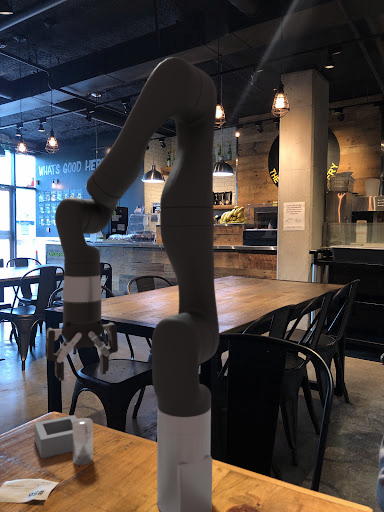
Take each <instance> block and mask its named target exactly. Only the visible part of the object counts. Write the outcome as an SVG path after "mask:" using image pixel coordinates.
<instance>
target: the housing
mask: <svg viewBox="0 0 384 512" xmlns="http://www.w3.org/2000/svg"><path fill="white" fill-rule="evenodd" d="M77 419H78V418H77V416H76V415H75V414H73V415H68V416H63V417H57V418H52V419H47V420H41V421H37V422H34V423H33V424H34V425H33V426H34V427H33V428H34V442H35V446H36V447H37V450H38V454H39V456H40V460H42V459H45V458H49V457H54V456H58V455H63V454H67V453H73V421H75V420H77Z"/></svg>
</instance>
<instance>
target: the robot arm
mask: <svg viewBox="0 0 384 512" xmlns="http://www.w3.org/2000/svg"><path fill="white" fill-rule="evenodd" d="M217 102H218V95H217V87H216V85H215V82H214V80H213V79H212V78H211V76H210V75H209V74H208V73H206V72H205V71H203V70H202V69H200V68H199V67H198V66H196V65H194V64H192V63H191V62H189V60H186V59H183V58H182V57H178V56H171V57H167V58H165V59H164V60H162V61H161V62H160V63H159V64H158V65H156V67H155V68H154V69H153V71H152V72H151V73H150V75H149V77H148V78H147V81H146V83H145V84H144V86H143V87H142V89H141V92H140V94H139V96H138V97H137V99H136V101H135V103H134V105H133V107H132V109H131V111H130V113H129V115H128V117H127V118H126V120H125V123H124V125H123V127H122V128H121V131H120V132H119V134H118V136H117V138H116V140H115V142H114V143H113V144H112V146H111V148H110V149H109V151H108V152H107V154H106V155H105V156H104V157H103V159H102V160H101V161H100V162H99V164H98V165H97V166H96V168H95V169H94V170H93V172H92V173H90V176H89V178H88V179H87V181H86V182H85V183H86V185H85V188H86V191H87V194H88V195H89V196H90V198H89V199H84V198H80V197H78V198H77V197H66V198H64V199H62V200H61V201H60V202H59V203H58V205H57V207H56V208H55V209H56V210H55V215H54V221H55V228H56V230H57V234H58V238H59V241H60V245H61V250H62V252H63V257H64V259H63V260H64V261H63V262H64V263H63V267H64V268H63V269H64V271H63V272H64V273H63V275H64V277H63V283H62V284H63V287H62V302H63V303H62V310H63V311H62V312H63V313H62V314H63V315H62V317H63V318H62V327H61V328H52V327H48V328H47V329H46V332H45V335H46V336H45V352H44V353H45V354H44V356H45V358H46V359H47V360H48V361H51V362H52V361H53V362H54V375H55V376H56V379H58V380H59V382H61V381H64V380H65V362H64V360H65V358H66V357H67V355H69V354H70V353H71V351H72V350H73V349H76V350H79V349H82V348H88V349H89V348H92V347H93V346H95V347H96V348H97V349H98V350H99V352H100V354H99V372H100V374H101V375H106V374H107V372H108V371H109V368H110V361H109V360H110V356H111V355H112V354H114V353H117V352H118V351H119V344H118V343H119V342H118V326H117V325H116V324H115V323H113V322H108V323H107V324H103V323H102V282H101V253H100V250H99V249H98V248H97V247H95V246H92V245H89V244H88V243H87V240H86V237H85V235H95V234H99V233H100V232H102V231H103V230H104V229H105V228H106V227H107V226H108V225H109V223H110V221H111V219H112V217H113V215H114V213H115V211H116V208H117V205H118V203H119V200H121V198H123V196H124V195H125V194H126V192H127V191H128V190H129V189H130V187H132V185H133V184H134V182H135V181H136V180H137V179H138V177H139V175H140V173H141V171H142V168H143V165H144V160H145V158H146V157H145V156H146V153H147V148H148V146H149V143H150V141H151V139H152V138H153V136H154V134H156V132H157V131H158V129H160V127H162V125H163V124H165V122H167V121H168V120H169V119H172V120H174V122H175V128H176V130H175V131H176V151H175V158H174V162H173V164H172V166H171V170H170V172H169V174H168V176H167V179H166V181H165V183H164V185H163V188H162V191H161V195H160V205H159V216H160V217H159V220H160V222H159V223H160V225H159V227H160V238H161V243H162V245H163V248H164V251H165V253H166V256H167V258H168V260H169V263H170V265H171V267H172V269H173V272H174V273H175V278H176V281H177V287H178V288H177V289H178V312H177V313H178V314H175V315H170V316H168V317H165V318H163V319H161V320H160V321H159V322H158V323H157V324H156V326H155V327H154V329H153V333H152V337H151V345H150V346H151V347H150V350H151V352H150V353H151V370H152V371H151V372H152V373H151V374H152V375H151V376H152V386H153V390H154V393H155V397H156V399H157V418H156V419H157V421H156V423H157V424H156V427H157V429H156V431H157V433H156V434H157V436H156V437H157V438H156V439H157V441H156V442H157V443H156V451H157V453H156V456H157V457H156V469H157V470H156V475H157V476H156V487H157V488H156V491H157V492H156V505H157V508H158V510H159V512H212V510H213V509H212V508H213V457H212V456H211V431H212V430H211V428H212V427H211V425H212V424H211V423H212V422H211V421H212V416H211V415H212V413H211V412H212V411H211V410H212V393H211V391H210V389H209V387H207V386H206V385H204V384H201V383H200V373H199V371H200V370H199V366H200V364H202V363H205V362H207V361H209V360H210V359H211V358H212V357H213V356H214V355H215V354H216V352H217V350H218V347H219V343H220V325H219V323H220V322H219V316H218V315H219V314H218V309H217V306H218V305H217V298H216V290H215V257H214V256H215V253H214V250H215V249H214V247H215V246H214V237H215V236H214V235H215V234H214V233H215V229H214V228H215V216H214V215H215V214H214V213H215V210H214V158H213V157H214V156H213V155H214V139H215V138H214V137H215V127H216V117H217V106H218V105H217V104H218V103H217ZM103 332H105V334H107V337H108V346H105V345H104V343H103V342H102V341H101V340H100V337H101V335H102V334H103ZM60 336H62V337H63V338H64V341H63V342H62V343H61V345H60V348H59V349H58V350H57V352H56V353H55V341H57V340H58V339H59V338H60Z"/></svg>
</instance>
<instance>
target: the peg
mask: <svg viewBox="0 0 384 512" xmlns="http://www.w3.org/2000/svg"><path fill="white" fill-rule="evenodd" d="M93 425H94V423H93V419H91V418H89V417H80V418H77V420H75V421H73V451H72V463H73V464H74V465H75V466H85V465H88V464H90V463H92V461H93V460H94V456H93V455H94V452H93V451H94V450H93V449H94V448H93V447H94V442H93V441H94V439H93V438H94V433H93V432H94V428H93V427H94V426H93Z"/></svg>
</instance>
